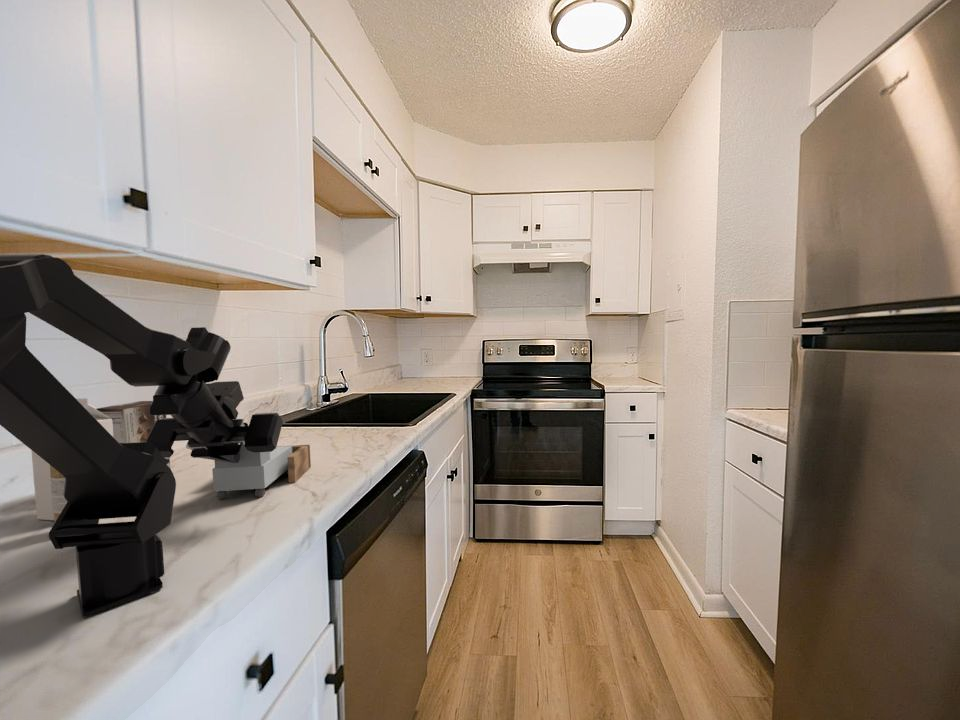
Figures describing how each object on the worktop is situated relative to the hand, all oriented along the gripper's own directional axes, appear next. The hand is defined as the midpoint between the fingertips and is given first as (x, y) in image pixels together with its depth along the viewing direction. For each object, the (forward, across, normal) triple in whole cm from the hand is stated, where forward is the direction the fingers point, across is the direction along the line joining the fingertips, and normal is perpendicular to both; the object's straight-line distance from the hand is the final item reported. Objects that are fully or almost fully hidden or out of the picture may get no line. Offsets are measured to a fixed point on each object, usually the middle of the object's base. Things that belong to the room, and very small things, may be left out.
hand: (236, 460), depth 72 cm
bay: (+13, 0, -3) cm, 14 cm away
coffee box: (+14, +25, -4) cm, 29 cm away
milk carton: (+4, +25, +6) cm, 26 cm away
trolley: (+10, 0, 0) cm, 10 cm away
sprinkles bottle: (-1, +20, +11) cm, 22 cm away
